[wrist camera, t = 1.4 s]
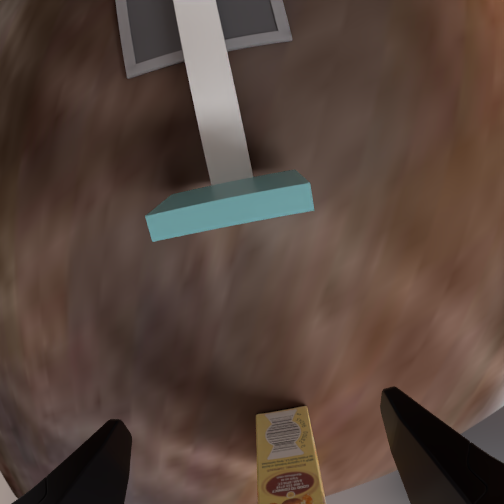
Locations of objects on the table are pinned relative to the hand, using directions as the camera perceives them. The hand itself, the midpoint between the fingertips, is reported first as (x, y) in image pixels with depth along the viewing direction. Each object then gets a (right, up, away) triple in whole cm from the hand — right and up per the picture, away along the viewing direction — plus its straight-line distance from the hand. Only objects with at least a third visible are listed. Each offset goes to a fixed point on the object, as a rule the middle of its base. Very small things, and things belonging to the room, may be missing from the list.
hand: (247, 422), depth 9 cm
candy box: (+3, -10, +15) cm, 18 cm away
